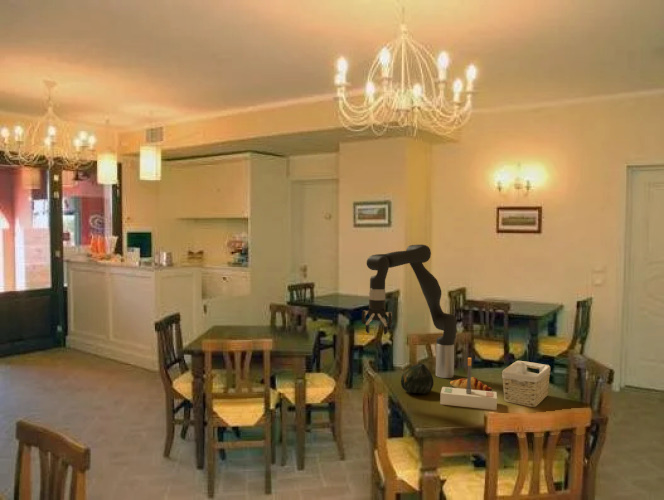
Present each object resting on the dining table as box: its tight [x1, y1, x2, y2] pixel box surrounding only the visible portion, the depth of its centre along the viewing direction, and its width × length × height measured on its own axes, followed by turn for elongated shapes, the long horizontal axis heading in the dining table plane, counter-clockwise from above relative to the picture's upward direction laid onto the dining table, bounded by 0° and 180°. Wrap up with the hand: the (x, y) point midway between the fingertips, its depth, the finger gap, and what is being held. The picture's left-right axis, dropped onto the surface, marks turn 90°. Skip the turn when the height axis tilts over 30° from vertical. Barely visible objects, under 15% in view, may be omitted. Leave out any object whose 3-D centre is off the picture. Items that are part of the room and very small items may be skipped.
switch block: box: [439, 386, 498, 411], centre depth 249 cm, size 20×24×7 cm
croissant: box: [449, 376, 493, 392], centre depth 264 cm, size 21×10×8 cm, turn 54°
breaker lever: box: [466, 357, 472, 389], centre depth 243 cm, size 3×2×14 cm, turn 164°
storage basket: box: [501, 360, 551, 408], centre depth 252 cm, size 24×16×15 cm
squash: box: [400, 363, 434, 395], centre depth 259 cm, size 14×15×15 cm
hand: (376, 333), depth 253 cm, fingers open, 7 cm apart
